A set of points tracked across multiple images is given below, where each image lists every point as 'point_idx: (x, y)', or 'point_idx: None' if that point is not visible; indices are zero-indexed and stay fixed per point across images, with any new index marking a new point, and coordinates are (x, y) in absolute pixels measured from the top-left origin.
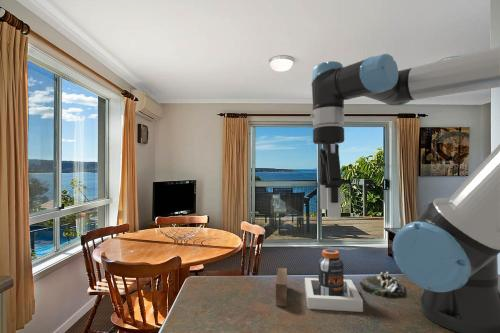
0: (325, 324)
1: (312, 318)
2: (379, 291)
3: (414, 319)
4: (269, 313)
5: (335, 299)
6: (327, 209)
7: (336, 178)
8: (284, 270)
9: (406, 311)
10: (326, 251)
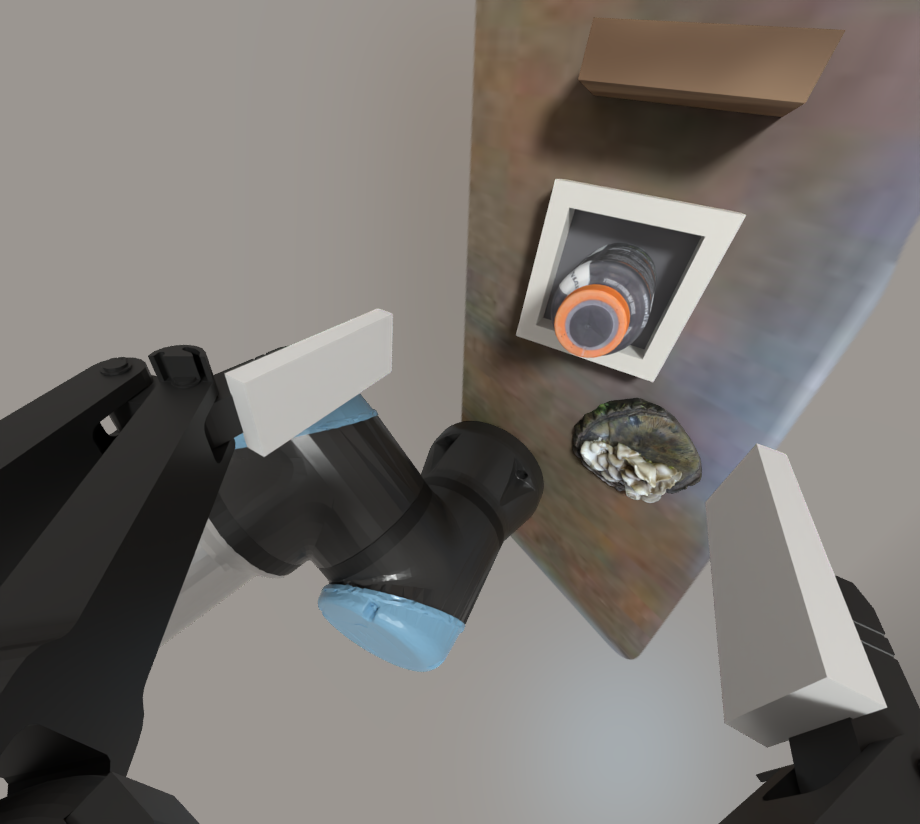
0: (483, 209)
1: (512, 180)
2: (601, 421)
3: (488, 401)
4: (558, 13)
5: (533, 268)
6: (363, 326)
7: (100, 426)
8: (770, 83)
9: (515, 411)
10: (587, 305)
